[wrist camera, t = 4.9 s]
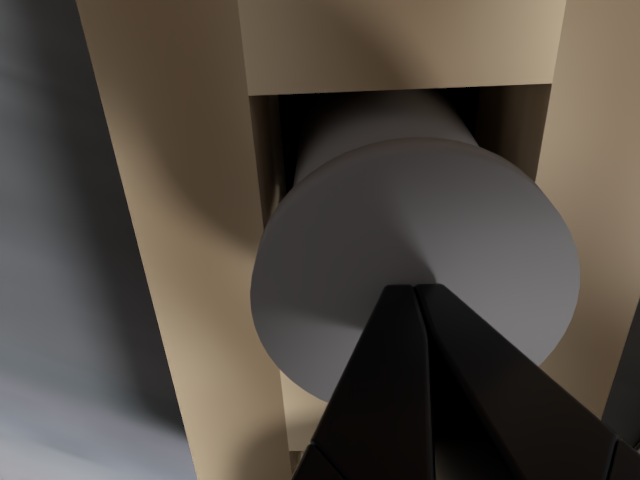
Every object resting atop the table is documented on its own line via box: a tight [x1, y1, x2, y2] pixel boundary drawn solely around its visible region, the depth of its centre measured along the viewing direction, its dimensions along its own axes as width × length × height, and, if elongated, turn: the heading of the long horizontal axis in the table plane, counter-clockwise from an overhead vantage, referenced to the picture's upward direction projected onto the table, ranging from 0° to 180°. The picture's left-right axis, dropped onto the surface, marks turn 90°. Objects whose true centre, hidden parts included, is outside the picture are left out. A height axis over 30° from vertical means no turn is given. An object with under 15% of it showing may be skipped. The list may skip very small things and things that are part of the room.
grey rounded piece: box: [250, 88, 580, 403], centre depth 11 cm, size 5×5×6 cm
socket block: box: [76, 0, 640, 480], centre depth 12 cm, size 10×26×4 cm, turn 3°
